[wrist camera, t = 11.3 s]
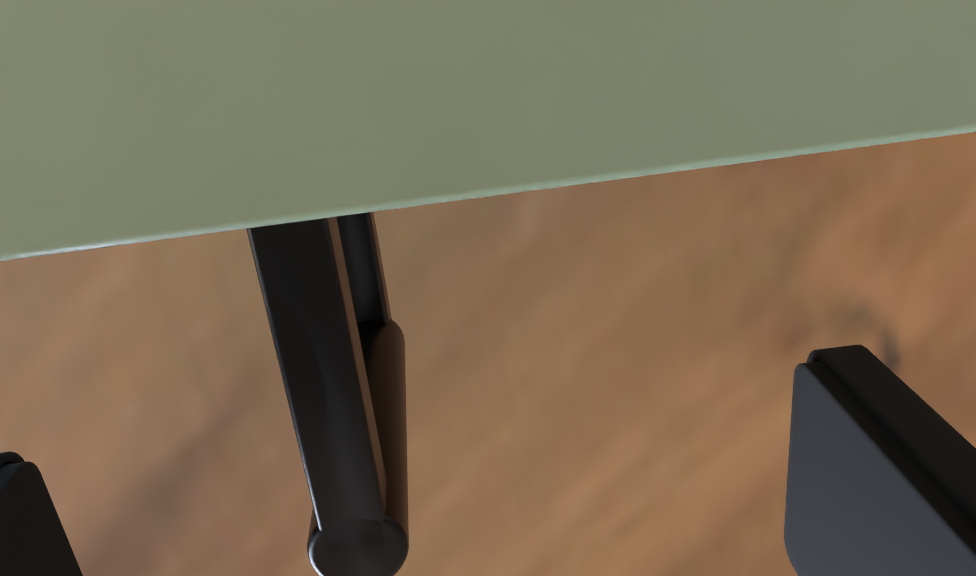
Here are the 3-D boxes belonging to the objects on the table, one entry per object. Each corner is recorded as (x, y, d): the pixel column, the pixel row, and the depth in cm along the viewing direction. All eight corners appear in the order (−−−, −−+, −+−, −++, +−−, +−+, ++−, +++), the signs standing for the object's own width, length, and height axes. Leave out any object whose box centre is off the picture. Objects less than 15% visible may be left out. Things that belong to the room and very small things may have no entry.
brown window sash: (471, -75, 13) (582, -124, 5) (512, 326, 16) (622, 679, 8) (-97, -12, 12) (-921, 41, 5) (54, 391, 15) (-296, 834, 8)
